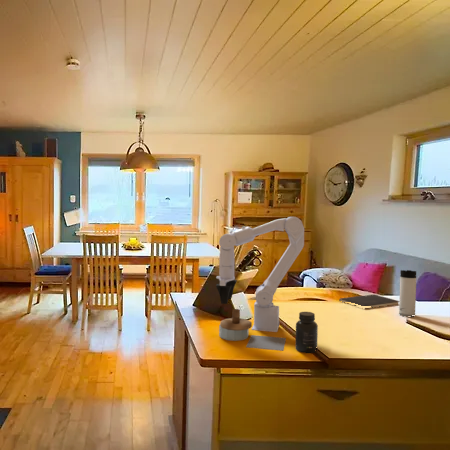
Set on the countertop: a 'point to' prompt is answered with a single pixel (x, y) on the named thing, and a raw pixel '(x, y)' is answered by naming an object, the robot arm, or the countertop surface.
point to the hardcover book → (370, 300)
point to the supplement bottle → (306, 333)
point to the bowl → (233, 334)
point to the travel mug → (407, 293)
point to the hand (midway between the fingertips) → (226, 301)
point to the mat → (266, 342)
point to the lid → (236, 322)
